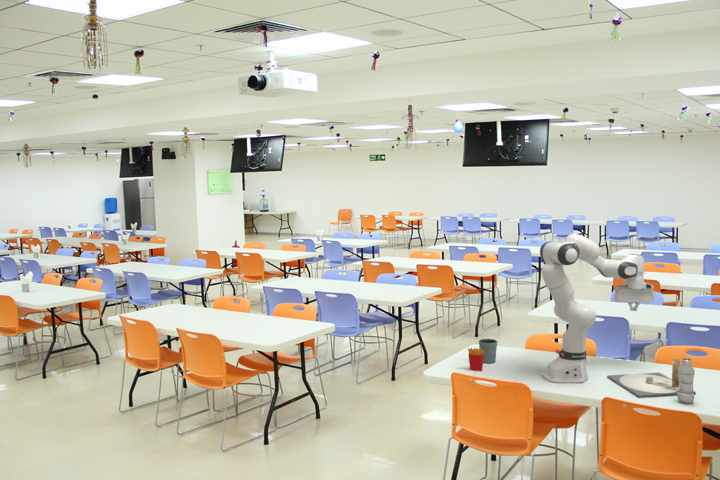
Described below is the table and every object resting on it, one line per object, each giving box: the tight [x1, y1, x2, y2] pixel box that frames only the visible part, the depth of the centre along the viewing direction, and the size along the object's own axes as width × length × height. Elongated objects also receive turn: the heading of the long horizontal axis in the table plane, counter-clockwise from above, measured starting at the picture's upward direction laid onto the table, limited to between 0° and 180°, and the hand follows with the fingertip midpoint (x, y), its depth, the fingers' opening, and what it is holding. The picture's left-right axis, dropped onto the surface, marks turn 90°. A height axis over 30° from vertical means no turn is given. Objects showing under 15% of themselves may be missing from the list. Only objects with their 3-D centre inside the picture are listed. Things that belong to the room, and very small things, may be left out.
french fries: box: [467, 347, 484, 372], centre depth 308 cm, size 8×4×12 cm, turn 69°
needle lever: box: [646, 358, 681, 388], centre depth 273 cm, size 15×3×14 cm, turn 39°
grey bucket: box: [478, 338, 498, 365], centre depth 322 cm, size 10×10×12 cm
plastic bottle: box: [676, 357, 695, 404], centre depth 256 cm, size 6×7×20 cm
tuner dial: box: [606, 372, 697, 399], centre depth 278 cm, size 28×28×2 cm
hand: (633, 310), depth 300 cm, fingers closed
